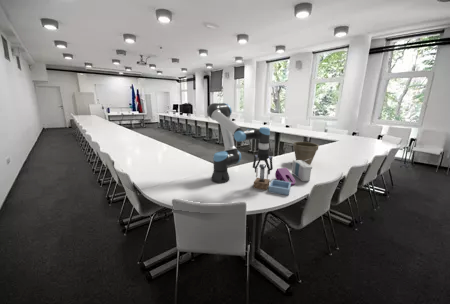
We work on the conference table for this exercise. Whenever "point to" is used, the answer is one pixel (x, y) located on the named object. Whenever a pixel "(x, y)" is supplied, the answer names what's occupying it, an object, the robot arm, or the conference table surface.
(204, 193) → the conference table surface
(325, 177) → the conference table surface
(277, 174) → the mounting bracket
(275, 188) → the parts tray
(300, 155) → the plant pot
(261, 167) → the steel pin
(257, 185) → the block
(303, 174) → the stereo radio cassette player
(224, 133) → the robot arm
